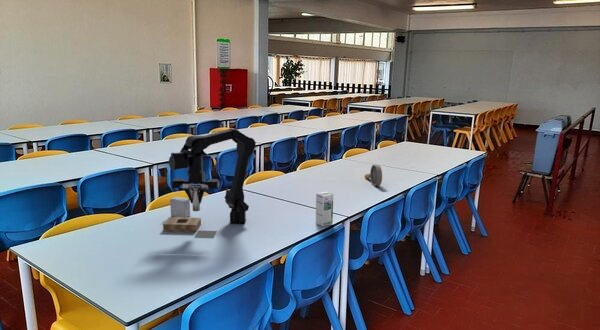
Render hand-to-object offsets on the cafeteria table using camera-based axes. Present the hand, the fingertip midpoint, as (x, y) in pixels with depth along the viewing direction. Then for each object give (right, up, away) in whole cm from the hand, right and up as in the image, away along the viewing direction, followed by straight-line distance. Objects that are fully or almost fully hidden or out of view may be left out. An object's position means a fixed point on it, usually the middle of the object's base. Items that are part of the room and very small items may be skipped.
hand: (196, 203), depth 183 cm
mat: (+4, -13, +1) cm, 14 cm away
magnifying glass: (+89, +5, +90) cm, 127 cm away
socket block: (-8, -12, +7) cm, 16 cm away
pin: (0, -3, +1) cm, 3 cm away
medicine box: (-13, -8, +22) cm, 27 cm away
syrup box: (+54, -11, +18) cm, 58 cm away
